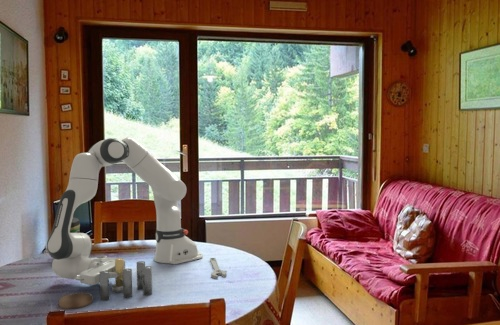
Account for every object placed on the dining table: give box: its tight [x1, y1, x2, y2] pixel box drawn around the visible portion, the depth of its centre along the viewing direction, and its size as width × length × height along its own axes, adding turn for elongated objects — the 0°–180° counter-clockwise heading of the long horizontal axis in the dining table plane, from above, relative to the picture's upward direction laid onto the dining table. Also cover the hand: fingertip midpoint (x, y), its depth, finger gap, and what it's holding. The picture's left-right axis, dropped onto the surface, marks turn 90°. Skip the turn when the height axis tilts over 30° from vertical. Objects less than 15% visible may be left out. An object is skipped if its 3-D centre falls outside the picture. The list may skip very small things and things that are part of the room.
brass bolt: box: [111, 257, 124, 294], centre depth 165 cm, size 6×6×12 cm
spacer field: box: [99, 260, 153, 302], centre depth 161 cm, size 15×17×10 cm
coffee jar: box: [70, 216, 81, 233], centre depth 207 cm, size 10×8×19 cm
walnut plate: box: [58, 292, 93, 310], centre depth 153 cm, size 11×11×2 cm
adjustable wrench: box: [209, 257, 227, 279], centre depth 190 cm, size 25×6×2 cm, turn 7°
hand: (121, 273), depth 164 cm, fingers closed on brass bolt, 3 cm apart
